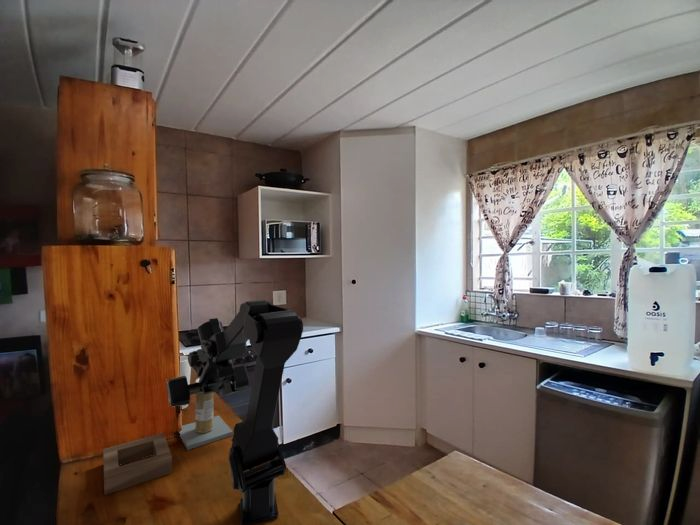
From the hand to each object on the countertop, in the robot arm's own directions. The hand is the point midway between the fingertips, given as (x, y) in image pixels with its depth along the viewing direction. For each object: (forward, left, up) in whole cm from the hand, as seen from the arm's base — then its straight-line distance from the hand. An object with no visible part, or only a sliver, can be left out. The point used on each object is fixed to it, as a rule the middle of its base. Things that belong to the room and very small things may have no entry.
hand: (203, 398), depth 92 cm
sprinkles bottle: (-1, 0, -8) cm, 8 cm away
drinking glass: (+17, +8, -9) cm, 21 cm away
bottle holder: (-12, +13, -9) cm, 20 cm away
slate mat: (-1, 0, -9) cm, 9 cm away
